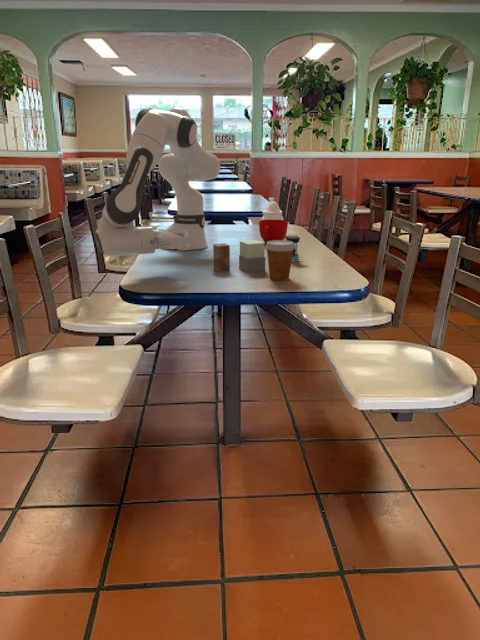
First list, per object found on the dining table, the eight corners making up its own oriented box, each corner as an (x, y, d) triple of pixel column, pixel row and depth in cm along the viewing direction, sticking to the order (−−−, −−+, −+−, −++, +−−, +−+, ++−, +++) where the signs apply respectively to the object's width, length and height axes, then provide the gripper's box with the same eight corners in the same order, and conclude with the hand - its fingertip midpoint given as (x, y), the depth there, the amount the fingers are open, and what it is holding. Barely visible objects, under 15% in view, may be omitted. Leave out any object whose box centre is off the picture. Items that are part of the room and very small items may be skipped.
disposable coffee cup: (263, 275, 169) (263, 240, 165) (290, 274, 169) (292, 239, 166) (266, 282, 160) (267, 245, 156) (296, 281, 160) (297, 244, 157)
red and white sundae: (255, 234, 251) (255, 197, 245) (277, 232, 256) (278, 196, 250) (266, 238, 240) (267, 200, 234) (289, 236, 245) (291, 199, 239)
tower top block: (247, 258, 171) (247, 244, 170) (239, 255, 177) (239, 241, 175) (264, 257, 174) (264, 242, 172) (256, 253, 179) (256, 239, 178)
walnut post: (218, 272, 173) (217, 246, 170) (213, 269, 177) (213, 244, 174) (229, 270, 175) (229, 245, 172) (224, 268, 178) (224, 243, 175)
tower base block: (247, 272, 172) (247, 258, 171) (239, 268, 178) (239, 255, 177) (265, 271, 175) (265, 257, 174) (256, 267, 181) (256, 253, 180)
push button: (301, 259, 193) (302, 234, 189) (303, 262, 188) (304, 236, 184) (284, 259, 193) (285, 234, 189) (285, 262, 188) (286, 236, 184)
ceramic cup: (251, 246, 219) (251, 223, 216) (264, 240, 234) (264, 218, 231) (279, 248, 214) (280, 225, 211) (290, 242, 229) (291, 220, 226)
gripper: (155, 234, 151) (198, 232, 157) (139, 226, 169) (178, 224, 174) (156, 255, 153) (198, 252, 159) (140, 245, 171) (178, 242, 176)
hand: (187, 237), depth 167 cm, fingers open, 8 cm apart
